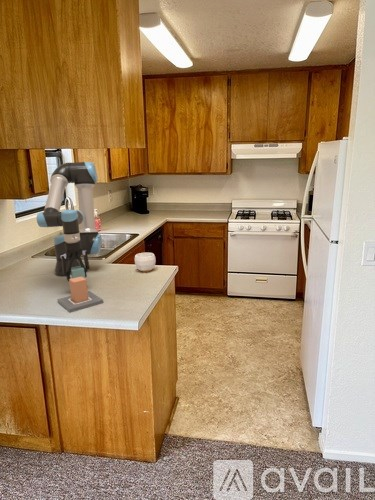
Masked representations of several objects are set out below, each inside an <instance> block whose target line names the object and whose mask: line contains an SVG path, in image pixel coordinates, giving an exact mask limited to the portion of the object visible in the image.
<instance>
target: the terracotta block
mask: <svg viewBox="0 0 375 500" xmlns="http://www.w3.org/2000/svg"><path fill="white" fill-rule="evenodd" d="M68 283H69V290H70V296H71V299H72V300H73V301H74V302H76V303H78V302H82V301H86V300H89V298H88V291H89V289H88V281H87V279H86V278H83V277H82V276H81V277H77V278H72V279H69V282H68Z"/></svg>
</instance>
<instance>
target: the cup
mask: <svg viewBox="0 0 375 500" xmlns="http://www.w3.org/2000/svg"><path fill="white" fill-rule="evenodd" d="M156 262H157V261H156V256H155V254H154V253H153V252H141V253H140V252H139V253H136V254H135V255H134V264H135V268H136V269H137V270H139V271H141V272H142V273H147V272H150V271H151V270H153V269H154V268H155V265H156Z"/></svg>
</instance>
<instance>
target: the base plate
mask: <svg viewBox="0 0 375 500" xmlns="http://www.w3.org/2000/svg"><path fill="white" fill-rule="evenodd" d="M88 298H89V300H86V301H82V302H78V303H76V302H74V301H73V300H72V299H71V295H68V296H64V297H61V298H57V299H56V300H57V303H58V304H59V305H61V307H63V308H64V309H65V310H66V311H67V312H69V313H74V312H77V311H79V310H83V309H86V308H87V309H88V308H90V307H93V306H97V305H101V304H104V299H102V298H101V297H100V296H99V295H96V294H95V293H94V292H92V291H90V290H88Z"/></svg>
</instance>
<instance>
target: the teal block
mask: <svg viewBox="0 0 375 500" xmlns="http://www.w3.org/2000/svg"><path fill="white" fill-rule="evenodd" d="M70 274H71V275H72V278H77V277H81V276H82V277H83V278H85V273H84V268H82V267H81V266H76V267H72V268H71V272H70ZM85 279H86V278H85Z"/></svg>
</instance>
